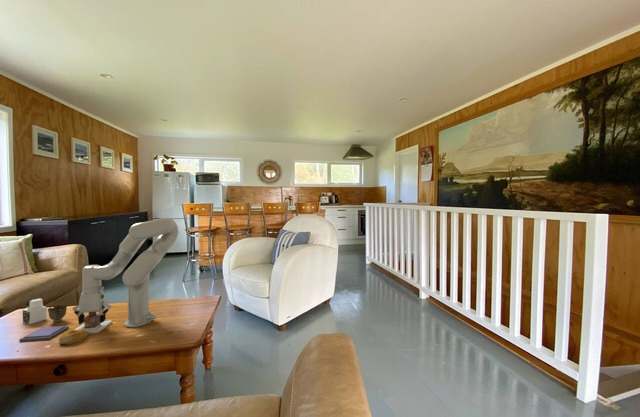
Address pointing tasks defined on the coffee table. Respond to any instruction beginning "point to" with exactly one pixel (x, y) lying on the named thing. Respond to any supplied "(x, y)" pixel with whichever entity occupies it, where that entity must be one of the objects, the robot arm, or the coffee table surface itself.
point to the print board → (97, 328)
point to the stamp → (92, 320)
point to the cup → (57, 313)
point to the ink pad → (44, 333)
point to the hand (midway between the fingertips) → (92, 322)
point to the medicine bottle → (34, 311)
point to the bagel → (73, 336)
